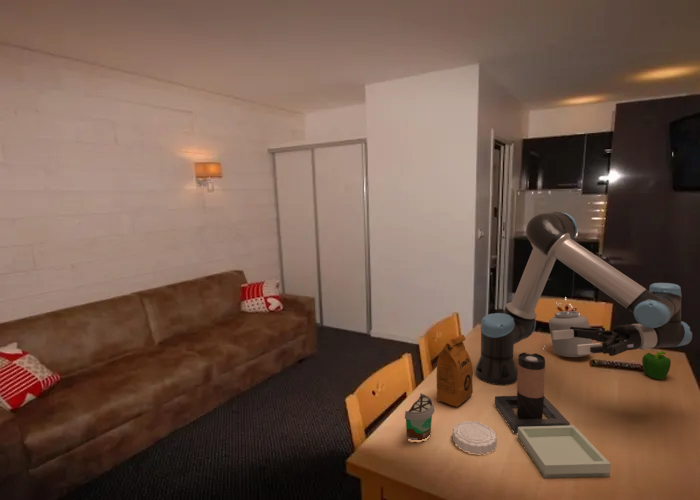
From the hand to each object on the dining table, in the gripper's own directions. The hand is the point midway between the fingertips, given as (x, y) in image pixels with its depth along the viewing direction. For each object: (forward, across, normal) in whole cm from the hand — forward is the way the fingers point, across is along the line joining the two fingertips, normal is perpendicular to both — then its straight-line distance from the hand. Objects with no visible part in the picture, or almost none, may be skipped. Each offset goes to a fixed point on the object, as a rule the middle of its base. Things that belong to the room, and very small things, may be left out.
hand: (564, 342), depth 119 cm
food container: (+46, -7, -23) cm, 52 cm away
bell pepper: (-46, +24, -25) cm, 58 cm away
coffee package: (+31, +13, -22) cm, 41 cm away
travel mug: (+12, 0, -24) cm, 26 cm away
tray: (+12, -18, -24) cm, 32 cm away
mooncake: (+32, -10, -24) cm, 41 cm away
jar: (-26, +46, -23) cm, 58 cm away
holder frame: (+12, 0, -24) cm, 26 cm away
